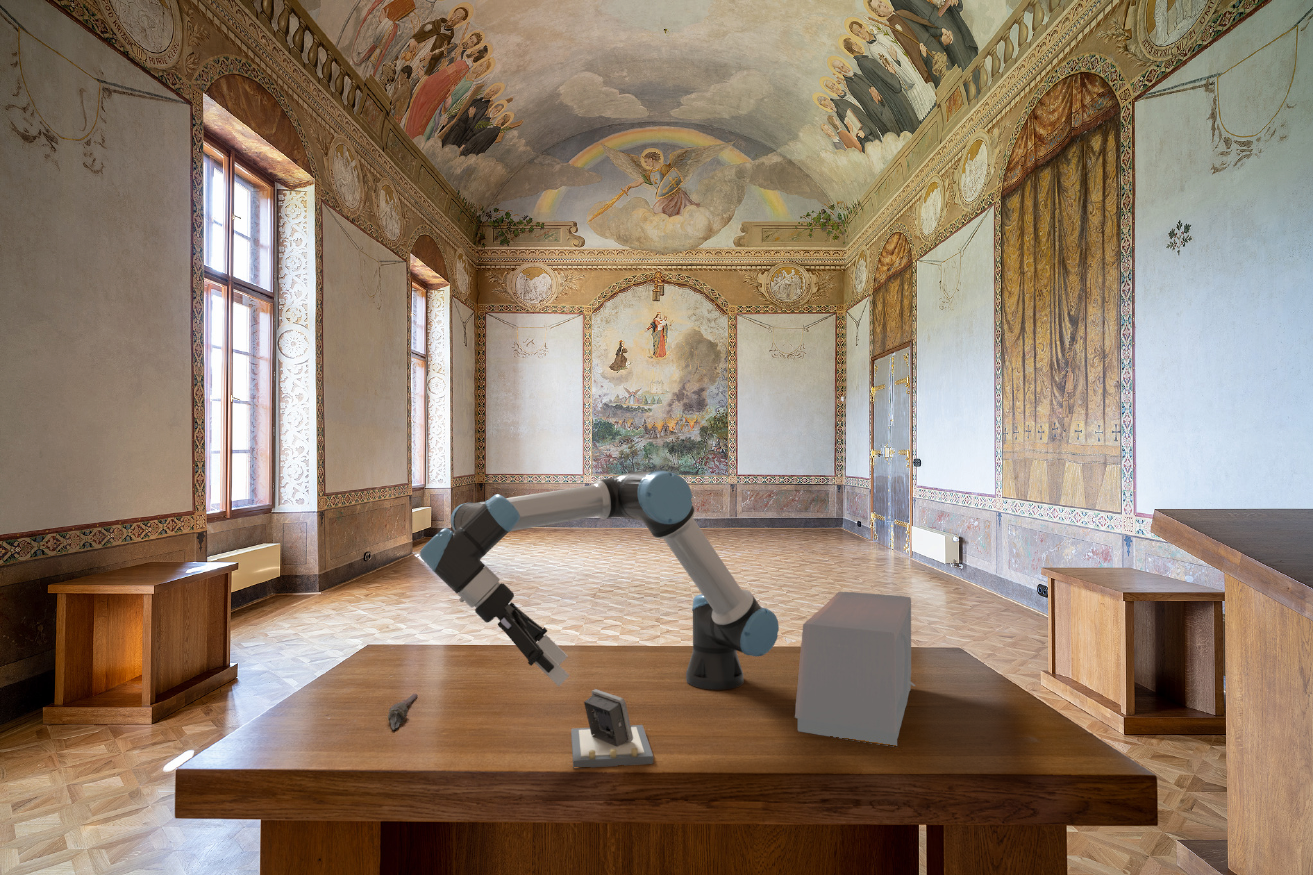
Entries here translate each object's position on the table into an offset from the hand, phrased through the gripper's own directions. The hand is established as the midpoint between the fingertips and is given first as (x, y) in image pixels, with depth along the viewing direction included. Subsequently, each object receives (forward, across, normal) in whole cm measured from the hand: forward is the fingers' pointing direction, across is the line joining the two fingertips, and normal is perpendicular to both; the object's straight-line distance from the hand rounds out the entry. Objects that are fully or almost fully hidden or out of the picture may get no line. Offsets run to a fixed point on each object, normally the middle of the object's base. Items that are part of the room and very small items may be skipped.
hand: (563, 670), depth 132 cm
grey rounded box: (+60, -14, +38) cm, 73 cm away
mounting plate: (+18, 0, -4) cm, 18 cm away
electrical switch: (+16, 0, -4) cm, 17 cm away
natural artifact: (-14, -27, -36) cm, 47 cm away
